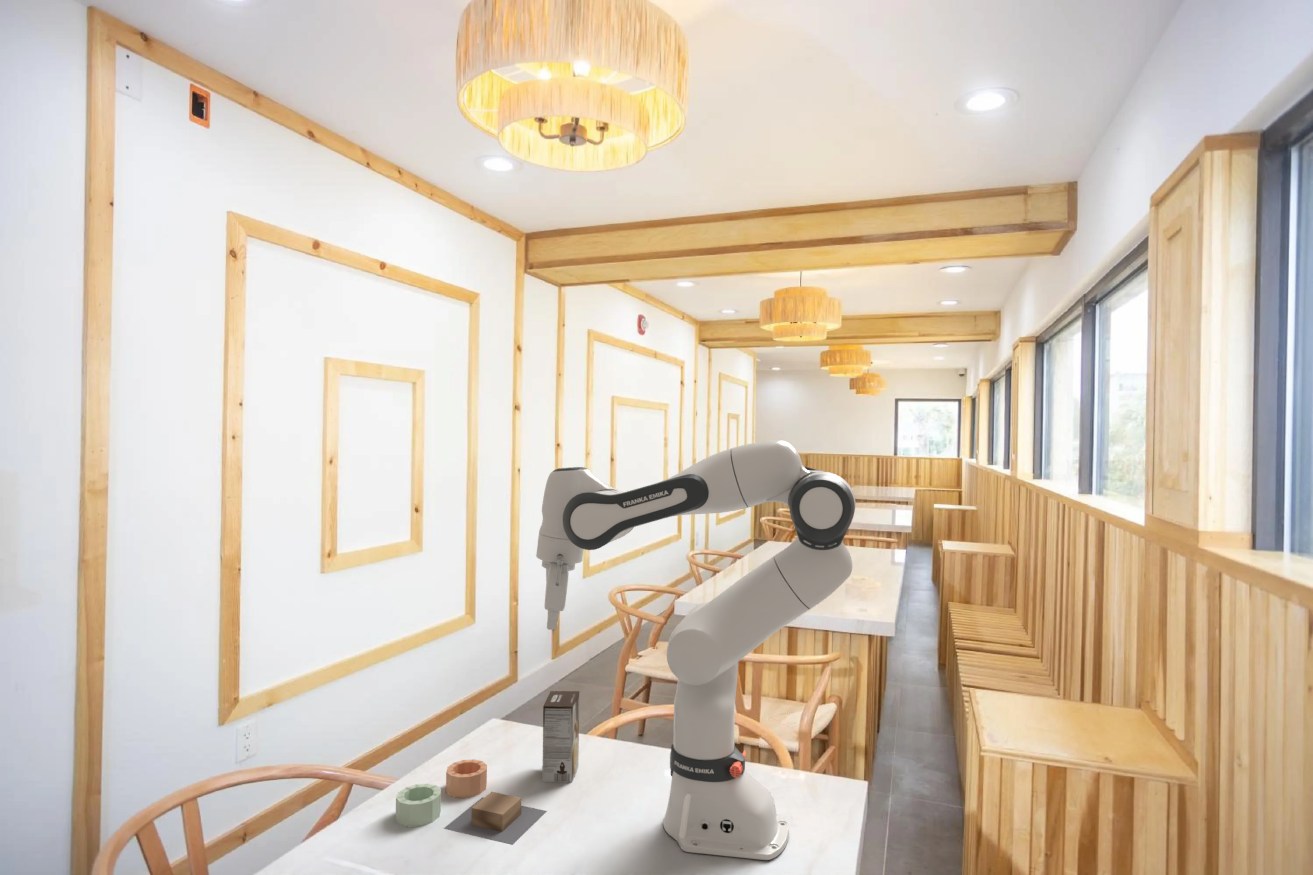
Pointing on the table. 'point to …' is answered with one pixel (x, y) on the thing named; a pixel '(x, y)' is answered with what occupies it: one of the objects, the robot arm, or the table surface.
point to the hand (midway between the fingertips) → (551, 621)
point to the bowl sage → (418, 805)
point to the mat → (507, 836)
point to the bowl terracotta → (466, 778)
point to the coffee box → (560, 736)
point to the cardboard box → (496, 811)
